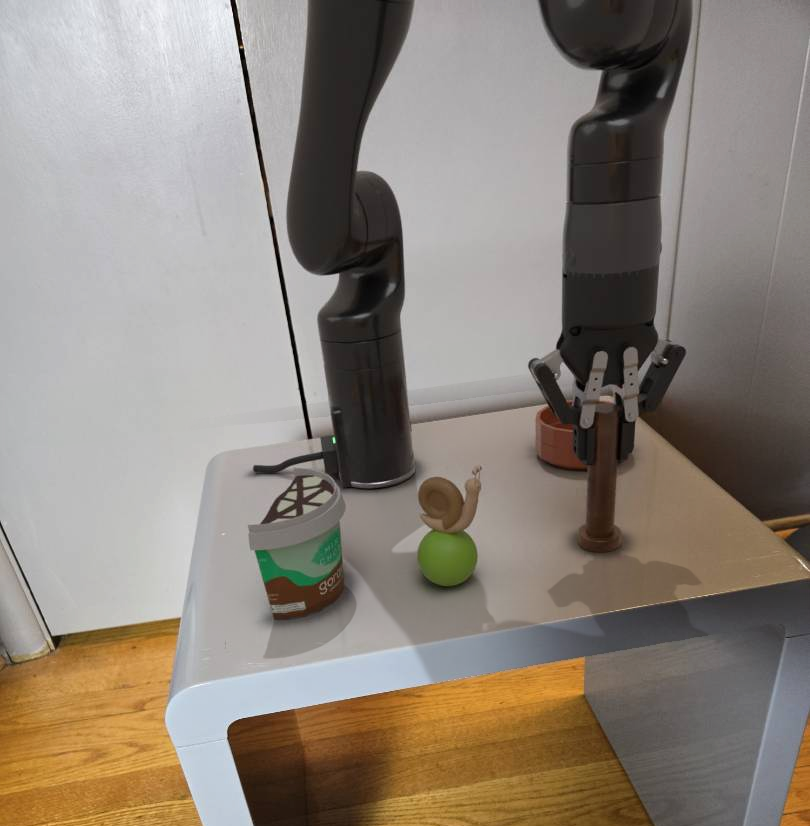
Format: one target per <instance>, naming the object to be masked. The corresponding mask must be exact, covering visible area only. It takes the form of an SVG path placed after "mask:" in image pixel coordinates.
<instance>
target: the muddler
mask: <svg viewBox="0 0 810 826" xmlns="http://www.w3.org/2000/svg"><path fill="white" fill-rule="evenodd" d="M619 420H620V407H619V406H618V405H616V404H611V403H599V404H596V408H595V414H594V420H593V424H592V425H593V426H594V427H595V450H594V464H593V465H590V466H588V469H587V478H586V479H587V481H586V482H587V483H586V508H585V509H586V511H585V523H584V524H582V525H581V526H580V527H579V528H578V531H577V543H578V545H579V546H580V547H581V548H582V549H584V550H586V551H589V552H593V553H609V552H612V551H614V550H616V549H618V548H619V547H620V546H621V542H622V530H621V528H620V527H618V526H617V525H615V517H616V516H615V513H616V497H617V496H616V495H617V478H618V461H617V459H618V440H619Z"/></svg>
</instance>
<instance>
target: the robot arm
mask: <svg viewBox="0 0 810 826" xmlns="http://www.w3.org/2000/svg"><path fill="white" fill-rule="evenodd" d="M415 2H416V0H307V10H306V11H307V13H306V30H305V31H306V33H305V44H304V45H305V46H304V58H303V71H302V80H301V81H302V83H301V94H300V95H301V96H300V105H299V116H298V121H297V123H298V124H297V130H296V135H295V136H296V137H295V142H294V149H293V155H292V156H293V157H292V162H291V168H290V175H289V183H288V190H287V199H286V206H285V208H286V209H285V210H286V211H285V214H286V215H285V221H286V222H285V223H286V234H287V239H288V243H289V246H290V249H291V252H292V254H293V256H294V257H295V259H296V262H297V263H298V264H299V265H300V266H301V267H302V269H304V270H305V271H306V272H308V273H309V274H310V275H311V274H312V275H314V276H319V277H323V276H333V275H337V274H338V279H337V280H338V281H337V284H336V287H335V289H334V291H333V293H332V294H331V295H330V296H329V298H328V300H327V301H325V303H324V304H323V305H322V306H321V307H320V308H319V310H318V312H317V314H316V324H317V332H318V337H319V343H320V349H321V350H320V351H321V355H322V363H323V371H324V377H325V384H326V390H327V397H328V398H327V400H328V401H327V402H328V406H329V413H330V419H331V420H330V421H331V425H332V426H331V427H332V434H331V435H330V434H329V435H324V436H320V438H319V439H320V446H321V451H318V452H314V453H308V454H303V455H298V456H295V457H294V456H293V457H291V458H288V459H286V460H284V461H283V462H281V463H279V464H275V465H264V464H263V465H262V464H254V465H253V467H252V469H253V473H265V474H273V473H279V472H282V471H284V470H286V469H288V468H290V467H292V466H296V465H300V464H303V463H309V462H314V461H319V460H323V466H324V473H325V474H327V475H329V474H334V473H338V477H339V480H340V485H341V488H343V489H344V488H356V489H357V488H358V489H379V488H385V487H390V486H391V487H392V486H394V485H397V484H400V483H402V482H405V481H406V480H408V479H410V478H411V477H412V476H413V475H414V474H415V472H416V462H415V457H414V454H415V453H414V449H413V448H414V447H413V437H412V432H413V431H412V421H411V417H410V416H411V415H410V405H409V395H408V384H407V375H406V364H405V352H404V344H403V343H404V342H403V332H402V331H403V330H402V322H401V321H402V320H401V319H402V318H401V314H402V310H403V306H404V304H405V299H406V298H405V297H406V278H405V277H406V276H405V275H406V274H405V254H404V253H405V251H404V250H405V249H404V233H403V223H402V215H401V211H400V206H399V203H398V200H397V198H396V195H395V193H394V191H393V189H392V187H391V186H390V184H389V183H388V182H387V180H386V179H385V178H384V177H382V176H381V175H379V174H378V173H375V172H373V171H370V170H358V166H359V160H360V159H359V158H360V152H361V147H362V140H363V137H364V133H365V129H366V126H367V123H368V121H369V117H370V116H371V113H372V110H373V109H374V106H375V104H376V102H377V101H378V98H379V96H380V94H381V92H382V90H383V89H384V86H385V84H386V82H387V81H388V78H389V76H390V74H391V73H392V70H393V69H394V67H395V65H396V62H397V61H398V58H399V56H400V54H401V52H402V50H403V47H404V45H405V42H406V40H407V37H408V34H409V31H410V27H411V24H412V19H413V15H414V8H415ZM536 4H537V9H538V14H539V17H540V21H541V24H542V27H543V29H544V31H545V33H546V36H547V39H549V41H550V43H551V44H552V46H553V47H554V50H556V51H557V53H558V54H559V55H560V56H561V57H562V58H563V60H564V61H566V62H567V63H568V64H570V65H571V66H572V67H574V68H576V69H578V70H579V69H580V70H582V71H586V72H587V71H589V72H592V71H594V72H595V71H596V72H597V71H599V72H600V76H599V77H600V78H599V82H598V87H597V91H596V97H595V100H594V104H593V107H592V108H591V110H589V111H588V112H586V113H585V114H583V115H581V116H580V117H579V118H577V119H576V120H575V121H574V122H573V124H572V125H571V127H570V129H569V133H568V137H567V145H566V186H565V187H566V188H565V189H566V192H565V193H566V197H565V200H566V202H565V212H564V213H565V214H564V221H563V226H562V227H563V229H562V247H561V248H562V249H561V251H562V253H561V255H562V256H561V257H562V258H561V259H562V260H561V265H562V266H561V332H560V336H559V338H558V339H557V341H556V344H555V349H554V350H552V351H551V352H549V353H548V354H546V355H545V356H543V357H541V358H538V357H533V358H531V359H530V360H529V361H528V364H527V368H528V371H529V372H530V374H531V376H532V378H533V379H534V382H535V384H536V386H537V387H538V389H539V391H540V393H541V395H542V397H543V398H544V400H545V403H546V405H547V406H549V408H550V410H551V412H552V414H553V415H554V416H556V417H557V418H558V419H559V420H560V422H561V423H563V424H565V425H567V424H573V445H572V451H573V453H574V455H575V456H576V457H577V458H578V459H579V460H580V461H581V462H582V463H583V465H584V466H590V465H593V464H594V450H595V427H594V426H593V425H592V424H593V420H594V414H595V408H596V404H597V403H598V402H599V400H601V392H602V388H605V387H607V386H609V385H610V388H611V391H612V396H613V397H612V398H613V403H614V404H616V405H618V406H619V407H620V420H619V440H618V459H617V460H618V461H617V462H623V461H627V460H628V458H629V454H632V453H633V451H634V448H635V437H636V422H637V420H638V418H639V417H641V416H642V415H644V414H645V413H647V412H648V413H654V412H656V411H657V410H658V408H659V406H660V404H661V402H662V401H663V399H664V397H665V395H666V393H667V391H668V389H669V388H670V385H671V383H672V382H673V379H674V378H675V376H676V374H677V372H678V370H679V369H680V367H681V365H682V362H683V361H684V359H685V357H686V354H687V351H686V347H684V346H682V345H680V344H679V343H677V342H674V341H672V340H670V339H661V338H659V333H658V330H657V329H656V326H655V317H656V314H657V304H658V290H659V289H658V288H659V275H660V260H661V255H662V254H661V253H662V251H663V244H662V243H663V242H662V235H663V234H662V233H663V232H662V231H663V230H662V229H663V221H662V205H661V202H662V201H661V200H662V196H661V194H662V182H663V168H664V167H663V166H664V153H665V152H664V151H665V132H666V127H667V125H668V121H669V118H670V114H671V112H672V108H673V106H674V103H675V99H676V94H677V92H678V87H679V83H680V79H681V75H682V72H683V69H684V64H685V62H686V61H685V60H686V57H687V52H688V50H689V49H688V48H689V43H690V39H691V32H692V26H693V15H694V14H693V13H694V2H693V0H536ZM649 357H650V359H649V360H650V364H649V366H648V368H647V370H646V372H645V374H644V376H643V378H642V380H641V382H640V383H639V371H640V370H641V368H642V367H643V365H644V364H645V363H646V361H647V360H648V358H649ZM562 364H564V365H565V366H566V367H567V368H568V370H569V371H570V372H571V374H572V375H573V380H572V386H571V390H572V400H573V401H572V406H569V405H568V403H567V401H568V400H567V399H566V397H565V396H564V393H563V392H562V390H561V388H560V386H559V384H558V382H557V381H558V380H559V379H560V378H561V375H562V374H561V373H562V372H561V365H562Z"/></svg>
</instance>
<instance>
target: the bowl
mask: <svg viewBox="0 0 810 826" xmlns="http://www.w3.org/2000/svg"><path fill="white" fill-rule="evenodd" d="M566 401H567V403H568V405H569V406H572V401H573V399H572V400H566ZM599 403H611V404H614V401H610V400H609V401H608V400H601V399H599V402H598V403H597V404H599ZM572 445H573V424H567V425H565V424H563V423H561V422H560V420H559V419H558V418H557V417H556V416H554V415H553V414H552V412H551V410H550V408H549V406H548V405H545V406H544V407H542V408H541V409H539V410H538V411H537V412H536V415H535V453H536V455H538V457H539V458H540V459H541V460H543V461H546V462H547V463H549V464H551V465H553V466H555V467H558V468H564V469H568V470H588V466H584V465H583V463H582V462H581V461H580V460H579V459H578V458H577V457H576V456H575V455H574V453H573V451H572ZM617 462H619V461H618V460H617Z"/></svg>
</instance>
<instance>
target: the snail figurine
mask: <svg viewBox="0 0 810 826" xmlns="http://www.w3.org/2000/svg"><path fill="white" fill-rule="evenodd" d="M482 469H483V467H482V465H480V464H477V465H475V467H474V468H472V469H471V474H472V475H474V477H469V478H468V479H466V481H465V482H464V490H465V497H463V494H462V492H461V490H460V489H459V488H458V486H457V485H456V484H455V483H454V482H452V481H451V480H449V479H447V478H446V477H442V476H432V477H429V478H426V479H425V480H424V481H422V483H421V484H420V486H419V487H418V492H417V499H418V503H419V505H420V507H421V509H422V511H423V512H424V513H420V514H419V517H420V519H421V521H422V522H423V523H424V525H426V526H427V527H428V528H429V529H430V531H429V532H427V533H426V534H425V535H424V536H423V538H422V539H421V541H420V542H419V545H418V547H417V552H416V554H417V555H416V558H417V564H418V567H419V569H420V572H421V573H422V574H423V576H424V577H425V578H426V579H427V580H429V581H430V582H432V583H433V584H436V585H438V586H442V587H453V586H457V585H460V584H462V583H463V582H465V581H466V580H468V579H469V578H470V577H471V575H472V574H473V573H474V571H475V569H476V567H477V564H478V557H479V555H478V549H477V545H476V543H475V541H474V539H473V538H472V537H471V535H470V534H469V533H467V532H466V531H465V530H467V529H468V528H469V527H470V526H471V524H472V523H473V521H474V519H475V516H476V514H477V510H478V509H477V508H478V504H479V495H480V492H481V490H482V483H481V481H480V477H481V476H480V475H481V471H482ZM477 474H478V478H477Z"/></svg>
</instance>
